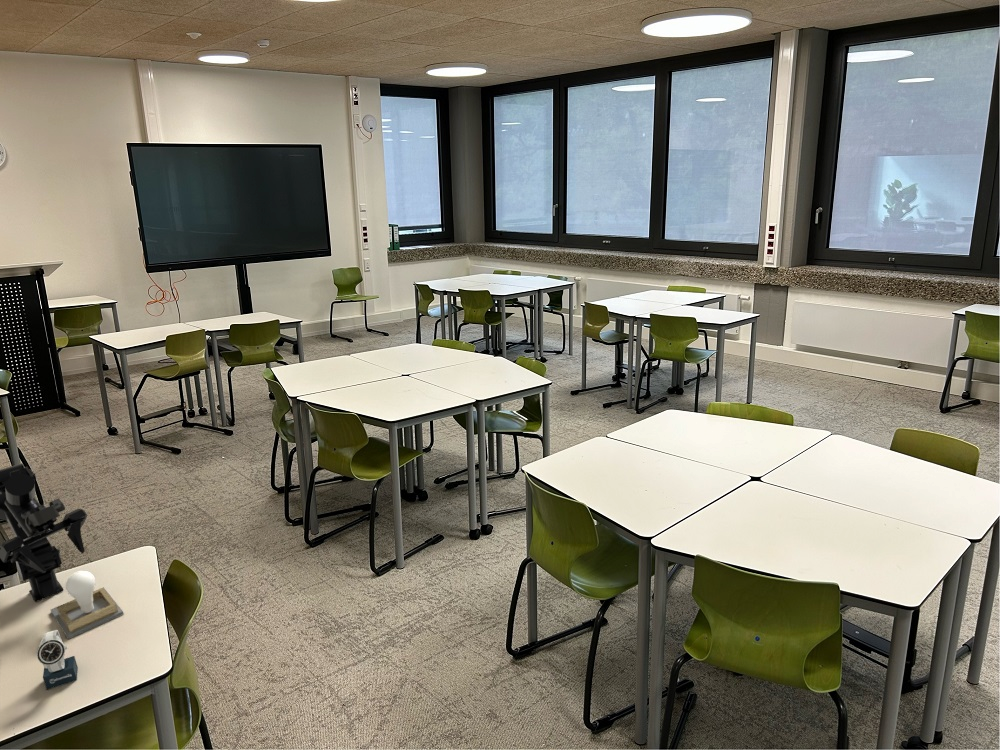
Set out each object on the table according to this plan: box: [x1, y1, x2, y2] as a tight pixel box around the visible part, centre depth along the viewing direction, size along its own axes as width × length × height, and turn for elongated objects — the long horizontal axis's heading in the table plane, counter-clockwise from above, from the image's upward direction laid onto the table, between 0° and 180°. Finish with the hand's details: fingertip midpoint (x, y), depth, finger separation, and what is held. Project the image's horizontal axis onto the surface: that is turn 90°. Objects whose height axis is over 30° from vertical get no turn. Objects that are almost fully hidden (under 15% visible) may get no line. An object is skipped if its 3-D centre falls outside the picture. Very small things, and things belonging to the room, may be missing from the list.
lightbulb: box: [65, 570, 96, 613], centre depth 168 cm, size 6×6×11 cm
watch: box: [36, 629, 79, 690], centre depth 148 cm, size 6×8×11 cm
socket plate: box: [50, 587, 124, 640], centre depth 171 cm, size 15×12×3 cm
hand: (64, 562), depth 168 cm, fingers open, 9 cm apart
